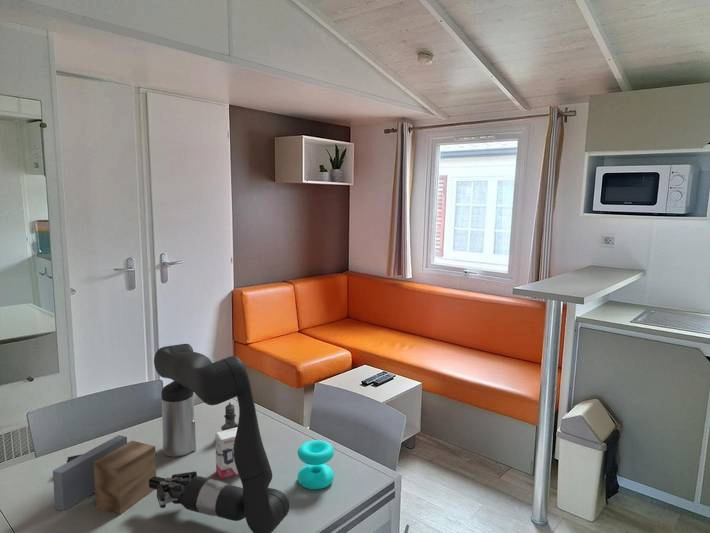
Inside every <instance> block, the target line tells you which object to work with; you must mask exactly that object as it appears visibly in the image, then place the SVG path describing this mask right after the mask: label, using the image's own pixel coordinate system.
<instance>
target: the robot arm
mask: <svg viewBox="0 0 710 533" xmlns="http://www.w3.org/2000/svg"><path fill="white" fill-rule="evenodd" d="M153 364H154V365H153V366H154V368H155V371H156V373H157V375H158V376H160V377H161V378H165V379H170V380H172V381H171V382H170V383H168V384H166V385H165V386H164V387H163V388H161V395H160V396H161V422H162V424H161V426H162V450H163V451H162V452H163V454H164V455H165V456H168V457H172V458H173V457H182V456H186V455H188V454H190V453H192V452H195V451H197V443H196V442H197V441H196V421H195V404H194V403H195V402H194V401H195V400H194V397H195V395H196V396H197V397H198V398H199V399H200V400H201V401H202V402H203V403H204V404H206V405H208V406H216V405H219V404H222V403H225V402H228V401H229V400H232V399H234V398H236V399H237V403H238V409H239V413H238V414H239V415H238V422H237V424H238V427H237V432H236V437H235V442H234V451H233V452H234V461H235V465H236V468H237V471H238V474H237V475H238V476H239V479H240V483H241V484H242V487H241V486H237V485H232V484H228V483H227V482H223V481H221V480H217V479H212V478H209V477H204V476H200V475H198V473H197V471H188V472H183V473H174V474H172V475H171V477H165V478H164V477H160V476H156V477H155V476H154V477H152V478H151V479H149V487H150V488H152V489H155V490H156V499H157V501H158V504H159V507H160V509H164V508H166V507H167V504H170V503H172V504H173V505H178V504H180V505H181V506H183V507H184V508H185V509H186V510H188V511H191V512H196V513H199V514H202V515H207V516H209V517H210V516H211V517H218V518H221V519H225V520H229V521H233V522H239V521H242V520H244V519H245V521H246V523H247V526H248V528H249V529H250V531H251V532H252V533H273V532H274V530H276V528H277V527H278V526H279V525H280V523H281V522H282V521H283V520H284V519H285V518H286V517H287V515H288V513H289V511H290V501H289V498H288V496H287V495H286V494H285V493H284V492H283V491H281V490H279V489H277V488H273V487H269V486H270V483H271V482H272V480H273V471H272V468H271V465H270V461H269V459H268V455H267V452H266V450H265V447H264V444H263V440H262V436H261V431H260V427H259V420H258V416H257V411H256V405H255V401H254V400H255V399H254V396H253V395H254V394H253V391H252V386H251V382H250V377H249V373H248V372H247V368H246V366H245V364H244V363H243V360H241V358H240V357H238V356H236V355H231V356H230V355H229V356H227V357H225V358H222V359H220V360H217V361H215V362H212V361H211V359H210V358H209V357H208V356H206V354H203V353H201V352H198V351H197V352H196V351H194V348H193V347H192V346H191V344H190V343H180V344H174V345H167V346H162V347H159V348H158V349H157V350H156V352H155V353H154V357H153Z"/></svg>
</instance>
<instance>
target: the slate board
mask: <svg viewBox="0 0 710 533" xmlns="http://www.w3.org/2000/svg"><path fill="white" fill-rule="evenodd" d="M127 443H128V437H127V436H125V435H120V434H117V435H116V436H114V437H112V438H110V439H109V440H107V441H105V442H103V443H101V444H99V445H98V446H95V447H93V448H92V449H90V450H88V451H87V452H85V453H81V454H82V455H81V454H80V455H81V456H79V457H77V458H75V459H73V460H71V461H69V462H68V463H67V462H66V463H64V464H62V465H61V466H58V467H57V468H55V469H53V470H52V479H53V480H52V481H53V495H54V496H53V497H54V500H53V501H54V509H56V510H58V511H62V512H66V511H67V510H68V509H70V508H71V507H72V506H74V505H76V504H77V503H79V502H80V501H82V500H84V499H85V498H87V497H88V496H90V495H91V494H93V493H95V481H94V462H95V461H97V460H99V459H100V458H102V457H104V456H106V455H107V454H109V453H111V452H113V451H114V450H116V449H118V448H120V447H121V446H123V445H125V444H127Z"/></svg>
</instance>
